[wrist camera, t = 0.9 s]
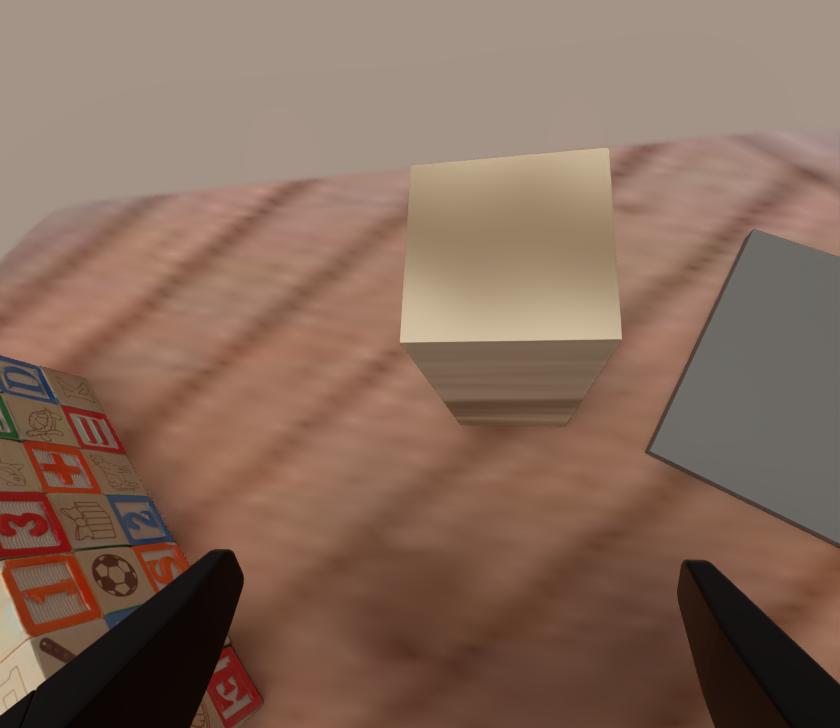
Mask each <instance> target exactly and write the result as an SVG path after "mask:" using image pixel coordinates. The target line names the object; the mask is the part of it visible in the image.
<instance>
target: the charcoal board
mask: <svg viewBox="0 0 840 728" xmlns="http://www.w3.org/2000/svg"><path fill="white" fill-rule="evenodd" d="M645 453H647V454H649V455H651V456H653V457H655V458H657V459H659V460H661V461H663V462H665V463H667V464H669V465H671V466H673V467H675V468H677V469H679V470H682V471H684V472H686V473H688V474H690V475H692V476H694V477H696V478H698V479H700V480H702V481H704V482H706V483H708V484H710V485H712V486H714V487H716V488H718V489H720V490H722V491H724V492H726V493H728V494H730V495H732V496H735V497H737V498H739V499H741V500H743V501H745V502H747V503H749V504H751V505H753V506H755V507H757V508H759V509H761V510H763V511H765V512H767V513H769V514H771V515H773V516H775V517H777V518H779V519H781V520H783V521H785V522H787V523H790V524H792V525H794V526H796V527H798V528H800V529H802V530H804V531H806V532H808V533H810V534H812V535H814V536H816V537H818V538H820V539H822V540H824V541H826V542H828V543H830V544H832V545H834V546H836V547H838V548H840V257H838V256H835V255H832V254H829V253H826V252H823V251H820V250H817V249H814V248H811V247H808V246H805V245H802V244H799V243H795V242H792V241H789V240H786V239H783V238H780V237H777V236H774V235H771V234H768V233H765V232H762V231H759V230H755V229H753V230H752V231H751V232H750V234H749V235H748V236H747V237H746V239H745V241H744V243H743V245H742V247H741V249H740V251H739V254H738V256H737V258H736V260H735V262H734V264H733V266H732V268H731V271H730V273H729V275H728V277H727V279H726V281H725V283H724V285H723V288H722V290H721V292H720V294H719V296H718V298H717V300H716V303H715V305H714V307H713V309H712V311H711V313H710V315H709V317H708V320H707V322H706V324H705V326H704V328H703V330H702V332H701V334H700V337H699V339H698V341H697V343H696V345H695V347H694V349H693V352H692V354H691V356H690V358H689V360H688V362H687V364H686V366H685V369H684V371H683V373H682V375H681V377H680V379H679V381H678V383H677V386H676V388H675V390H674V392H673V394H672V396H671V398H670V401H669V403H668V405H667V407H666V409H665V411H664V413H663V415H662V418H661V420H660V422H659V424H658V426H657V428H656V430H655V432H654V435H653V437H652V439H651V441H650V443H649V445H648V447H647V450H646V452H645Z"/></svg>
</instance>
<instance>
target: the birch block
mask: <svg viewBox="0 0 840 728" xmlns="http://www.w3.org/2000/svg"><path fill="white" fill-rule="evenodd" d="M621 340H622V332H621V318H620V304H619V289H618V275H617V261H616V247H615V233H614V218H613V204H612V190H611V176H610V162H609V148H599V149H588V150H577V151H566V152H555V153H544V154H533V155H522V156H511V157H500V158H489V159H479V160H468V161H457V162H446V163H435V164H424V165H413V166H411V176H410V192H409V208H408V223H407V239H406V255H405V271H404V287H403V303H402V318H401V334H400V343H401V345H402V346H403V347H404V349H405V350H406V351H407V353H408V354H409V356H410V357H411V358H412V360H413V361H414V362H415V364H416V365H417V366H418V368H419V369H420V370H421V372H422V373H423V375H424V376H425V377H426V379H427V380H428V381H429V383H430V384H431V385H432V387H433V388H434V389H435V391H436V392H437V394H438V395H439V396H440V398H441V399H442V400H443V402H444V403H445V404H446V406H447V407H448V409H449V410H450V411H451V413H452V414H453V415H454V417H455V418H456V419H457V421H458V422H459V423H460V425H507V426H557V427H564V426H565V425H566V423H567V422H568V420H569V419H570V417H571V416H572V414H573V413H574V411H575V410H576V408H577V407H578V405H579V404H580V402H581V401H582V399H583V398H584V396H585V395H586V393H587V391H588V390H589V388H590V387H591V385H592V384H593V382H594V381H595V379H596V378H597V376H598V375H599V373H600V372H601V370H602V369H603V367H604V366H605V364H606V363H607V361H608V360H609V358H610V357H611V355H612V354H613V352H614V351H615V349H616V348H617V346H618V345H619V343H620V341H621Z"/></svg>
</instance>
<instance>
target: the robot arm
mask: <svg viewBox="0 0 840 728" xmlns="http://www.w3.org/2000/svg"><path fill="white" fill-rule="evenodd" d="M243 584H244V576H243V572H242V570H241V568H240V566H239V563H238V561H237V559H236V556H235V554H234V552H233V551H231V550H229V549H214V550H212V551H210V552H208V553H207V554H206V555H205V556H203V557H202V558H201V559H200V560H198V561H197V562H196V563H194V564H193V565H192V566H191V567H189V568H188V569H187V570H185V571H184V572H183V573H182V574H180V575H179V576H178V577H177V578H175V579H174V580H173V581H171V582H170V583H169V584H168V585H166V586H165V587H164V588H163V589H161V590H160V591H159V592H157V593H156V594H155V595H154V596H152V597H151V598H150V599H148V600H147V601H146V602H145V603H143V604H142V605H141V606H140V607H138V608H137V609H136V610H134V611H133V612H132V613H131V614H129V615H128V616H127V617H125V618H124V619H123V620H122V621H120V622H119V623H118V624H117V625H115V626H114V627H113V628H111V629H110V630H109V631H108V632H106V633H105V634H104V635H103V636H101V637H100V638H99V639H97V640H96V641H95V642H94V643H92V644H91V645H90V646H88V647H87V648H86V649H85V650H83V651H82V652H81V653H80V654H78V655H77V656H76V657H74V658H73V659H72V660H71V661H69V662H68V663H67V664H66V665H64V666H63V667H62V668H60V669H59V670H58V671H57V672H55V673H54V674H53V675H51V676H50V677H49V678H48V679H46V680H45V681H44V682H42V683H41V684H40V685H39V686H38V687H37V688H36V690H32V691H31V692H30V693H28V694H27V695H26V696H24V697H23V698H22V699H21V700H19V701H18V702H17V703H16V704H14V705H13V706H12V707H10V708H9V709H8V710H7V711H5V712H4V713H3V714H1V715H0V728H190V727H191V725H192V723H193V720H194V718H195V716H196V713H197V711H198V709H199V706H200V704H201V702H202V699H203V697H204V695H205V692H206V690H207V688H208V685H209V683H210V680H211V678H212V676H213V673H214V671H215V668H216V666H217V664H218V661H219V658H220V656H221V653H222V650H223V647H224V644H225V641H226V638H227V635H228V632H229V628H230V625H231V622H232V619H233V616H234V613H235V610H236V607H237V604H238V601H239V597H240V594H241V591H242V588H243ZM677 596H678V602H679V606H680V610H681V614H682V618H683V622H684V625H685V629H686V633H687V637H688V641H689V644H690V648H691V652H692V656H693V659H694V663H695V667H696V671H697V675H698V678H699V682H700V685H701V689H702V693H703V696H704V699H705V701H706V704H707V707H708V710H709V713H710V715H711V718H712V721H713V723H714V726H715V728H840V684H839V683H838V682H837V681H836V680H835V679H834V678H833V677H832V676H831V675H829V674H828V673H827V672H826V671H825V670H824V669H823V668H822V667H821V666H820V665H819V664H818V663H817V662H816V661H815V660H814V659H813V658H811V657H810V656H809V655H808V654H807V653H806V652H805V651H804V650H803V649H802V648H801V647H800V646H799V645H798V644H797V643H796V642H794V641H793V640H792V639H791V638H790V637H789V636H788V635H787V634H786V633H785V632H784V631H783V630H782V629H781V628H780V627H779V626H778V625H776V624H775V623H774V622H773V621H772V620H771V619H770V618H769V617H768V616H767V615H766V614H765V613H764V612H763V611H762V610H761V609H759V608H758V607H757V606H756V605H755V604H754V603H753V602H752V601H751V600H750V599H749V598H748V597H747V596H746V595H745V594H744V593H743V592H741V591H740V590H739V589H738V588H737V587H736V586H735V585H734V584H733V583H732V582H731V581H730V580H729V579H728V578H727V577H726V576H724V575H723V574H722V573H721V572H720V571H719V570H718V569H717V568H716V567H715V566H714V565H713V564H712V563H710V562H708V561H706V560H684V561H683V562H682V565H681V570H680V576H679V582H678V588H677Z"/></svg>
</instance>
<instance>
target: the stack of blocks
mask: <svg viewBox="0 0 840 728" xmlns="http://www.w3.org/2000/svg"><path fill="white" fill-rule="evenodd" d="M188 568H189V565H188V563H187V561H186V559H185V557H184V555H183V554H182V552H181V550H180V548H179V546H178V545H177V543H175V542H173V538H172V537H171V535H170V533H169V531H168V529H167V528H166V526H165V524H164V522H163V520H162V519H161V517H160V515H159V513H158V512H157V510H156V508H155V506H154V504H153V502H152V500H151V499H150V498H149V497H148V495H147V492H146V491H145V489H144V487H143V485H142V483H141V482H140V480H139V478H138V476H137V474H136V473H135V471H134V469H133V467H132V465H131V464H130V462H129V460H128V458H127V457H126V452H125V450H124V449H123V447H122V445H121V443H120V441H119V439H118V437H117V436H116V434H115V432H114V430H113V428H112V427H111V425H110V423H109V421H108V419H107V418H106V416H105V414H104V411H103V409H102V408H101V406H100V404H99V402H98V400H97V398H96V397H95V395H94V393H93V391H92V389H91V387H90V386H89V384H88V382H87V380H86V379H84V378H81V377H77V376H74V375H70V374H66V373H62V372H59V371H56V370H53V369H49V368H46V367H42V366H39V367H38V366H35V365H32V364H29V363H26V362H22V361H18V360H14V359H11V358H7V357H4V356H1V355H0V715H1V714H3V713H4V712H5V711H7V710H8V709H9V708H10V707H12V706H13V705H14V704H16V703H17V702H18V701H19V700H21V699H22V698H23V697H24V696H26V695H27V694H28V693H30V692H31V691H32V690H36V688H37V687H38V686H39V685H40V684H41V683H42V682H44V681H45V680H46V679H48V678H49V677H50V676H51V675H53V674H54V673H55V672H57V671H58V670H59V669H60V668H62V667H63V666H64V665H66V664H67V663H68V662H69V661H71V660H72V659H73V658H74V657H76V656H77V655H78V654H80V653H81V652H82V651H83V650H85V649H86V648H87V647H88V646H90V645H91V644H92V643H94V642H95V641H96V640H97V639H99V638H100V637H101V636H103V635H104V634H105V633H106V632H108V631H109V630H110V629H111V628H113V627H114V626H115V625H117V624H118V623H119V622H120V621H122V620H123V619H124V618H125V617H127V616H128V615H129V614H131V613H132V612H133V611H134V610H136V609H137V608H138V607H140V606H141V605H142V604H143V603H145V602H146V601H147V600H148V599H150V598H151V597H152V596H154V595H155V594H156V593H157V592H159V591H160V590H161V589H163V588H164V587H165V586H166V585H168V584H169V583H170V582H171V581H173V580H174V579H175V578H177V577H178V576H179V575H180V574H182V573H183V572H184V571H185V570H187V569H188ZM229 644H230V639H229V637H228V636H227V638H226V641H225V644H224V647H223V650H222V653H221V656H220V658H219V661H218V664H217V666H216V668H215V671H214V673H213V676H212V678H211V680H210V683H209V685H208V688H207V690H206V692H205V695H204V697H203V699H202V702H201V704H200V706H199V709H198V711H197V713H196V716H195V718H194V720H193V723H192V725H191V727H190V728H239V727H240V726H241V725H242V724H243V723H244V722H245V721H246V720H247V719H249V718H250V717H251V716H252V715H253V714H254V713H255V712H256V710H257V709H258V708H259V707H260V706H261V705H262V703H263V702H262V699H261V697H260V696H259V694H258V692H257V691H256V689H255V687H254V686H253V684H252V682H251V680H250V679H249V677H248V675H247V673H246V672H245V670H244V668H243V667H242V665H241V663H240V661H239V659H238V658H237V656H236V655H235V653H234V650H233V649H232V648H231V647H230V646H229Z"/></svg>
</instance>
